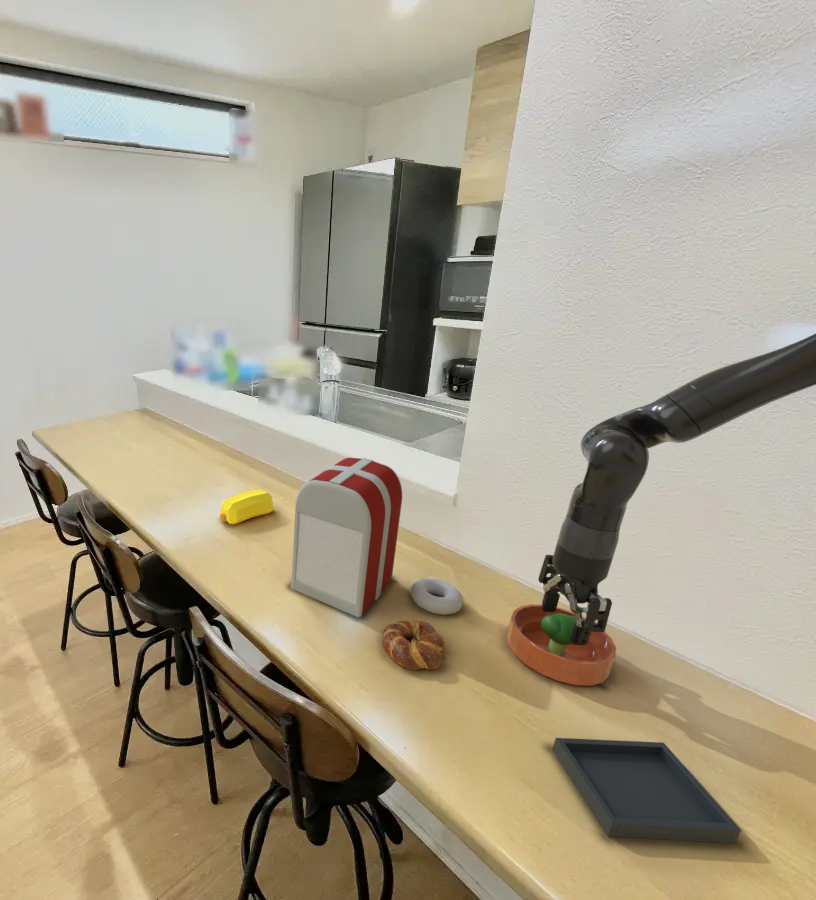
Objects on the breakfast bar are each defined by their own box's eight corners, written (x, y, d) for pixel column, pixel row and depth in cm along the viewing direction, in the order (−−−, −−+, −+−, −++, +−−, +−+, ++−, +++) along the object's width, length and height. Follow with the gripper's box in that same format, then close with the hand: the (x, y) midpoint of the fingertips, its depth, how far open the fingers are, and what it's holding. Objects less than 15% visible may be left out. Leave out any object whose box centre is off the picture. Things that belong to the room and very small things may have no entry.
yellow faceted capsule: (280, 512, 140) (263, 502, 147) (281, 491, 138) (264, 482, 144) (228, 530, 131) (212, 518, 137) (228, 507, 129) (212, 497, 135)
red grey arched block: (393, 578, 110) (408, 466, 101) (360, 618, 97) (374, 494, 88) (326, 553, 120) (334, 449, 111) (288, 587, 107) (294, 473, 98)
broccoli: (566, 642, 90) (576, 607, 87) (584, 663, 85) (596, 627, 82) (528, 640, 90) (536, 606, 88) (544, 662, 85) (554, 626, 83)
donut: (406, 585, 108) (412, 614, 98) (408, 572, 107) (414, 599, 97) (456, 592, 105) (466, 621, 96) (458, 578, 104) (469, 606, 95)
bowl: (572, 627, 95) (579, 605, 93) (630, 690, 80) (639, 665, 79) (491, 624, 95) (496, 603, 94) (534, 686, 81) (540, 662, 80)
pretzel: (396, 619, 97) (398, 604, 96) (454, 645, 90) (457, 629, 89) (369, 653, 89) (371, 636, 87) (431, 684, 82) (434, 667, 80)
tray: (658, 754, 70) (663, 742, 69) (735, 843, 59) (741, 830, 58) (551, 749, 71) (555, 737, 70) (607, 836, 60) (612, 823, 59)
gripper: (642, 570, 73) (612, 657, 79) (581, 524, 87) (559, 601, 92) (590, 569, 74) (564, 655, 79) (537, 523, 87) (518, 600, 93)
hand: (561, 626), depth 86 cm, fingers open, 8 cm apart
